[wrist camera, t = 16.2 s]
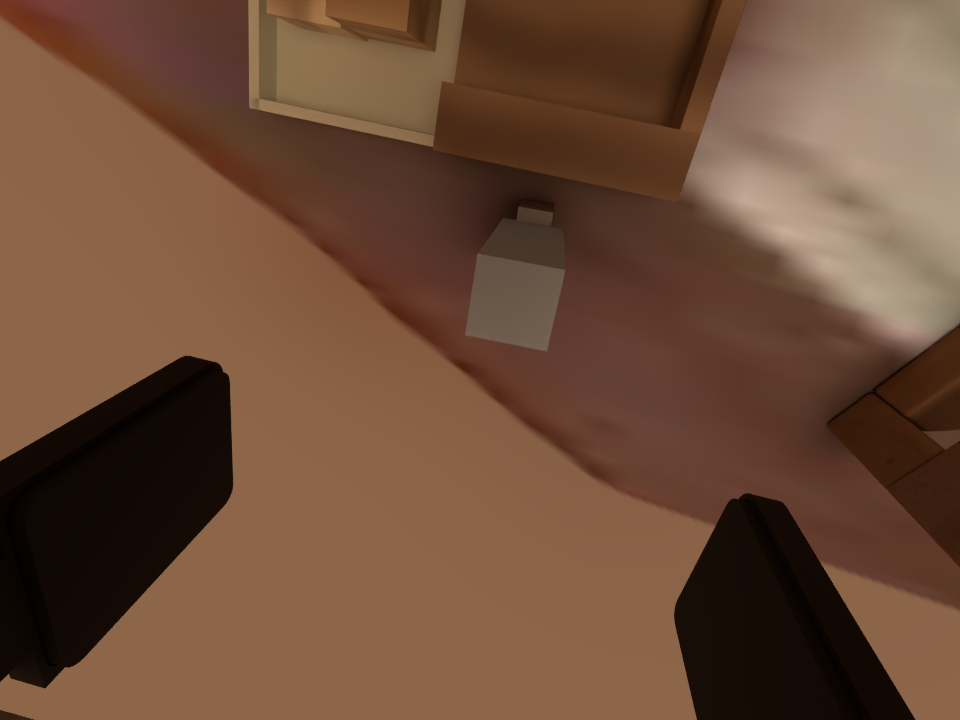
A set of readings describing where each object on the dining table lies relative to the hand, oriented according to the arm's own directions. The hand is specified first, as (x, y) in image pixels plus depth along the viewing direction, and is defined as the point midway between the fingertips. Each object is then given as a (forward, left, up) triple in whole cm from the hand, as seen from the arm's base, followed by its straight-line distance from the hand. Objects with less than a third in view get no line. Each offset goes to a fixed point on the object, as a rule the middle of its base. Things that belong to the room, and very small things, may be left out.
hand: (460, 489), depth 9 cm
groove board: (-11, 0, -26) cm, 28 cm away
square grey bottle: (0, 0, -26) cm, 26 cm away
